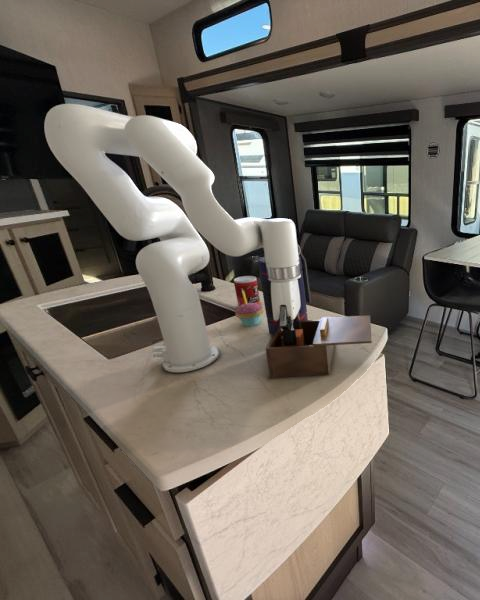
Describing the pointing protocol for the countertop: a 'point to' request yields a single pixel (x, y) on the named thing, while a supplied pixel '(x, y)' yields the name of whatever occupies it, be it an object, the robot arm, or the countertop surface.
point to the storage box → (299, 355)
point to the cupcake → (249, 312)
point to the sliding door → (343, 330)
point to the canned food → (247, 289)
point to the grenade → (266, 289)
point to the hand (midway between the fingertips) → (292, 338)
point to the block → (299, 338)
